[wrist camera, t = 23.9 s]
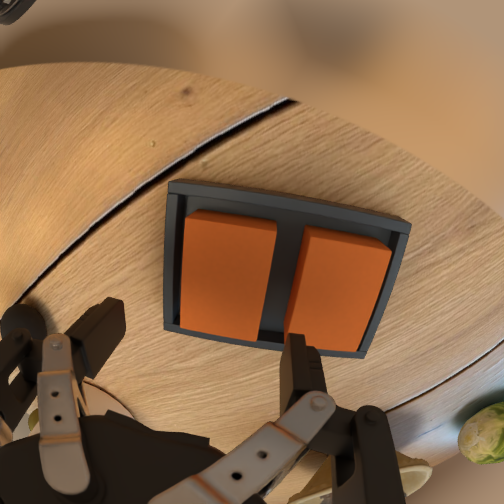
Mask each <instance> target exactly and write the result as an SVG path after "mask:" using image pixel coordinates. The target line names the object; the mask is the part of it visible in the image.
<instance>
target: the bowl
mask: <svg viewBox="0 0 504 504" xmlns="http://www.w3.org/2000/svg"><path fill="white" fill-rule="evenodd" d="M395 452H396V456H397V461H398V465H399V470H400V475H401V480H402V485H403V491H404V497H406V496H408V495H410V494H412V493H413V492H415V491H416V490H417V489H419V488H420V487H422V486H423V485H424V483H425V482H426V481H427V480H428V479H429V477H430V476H431V474H432V467H430V466H429V464H428V462H427V461H425V460H423V459H417V458H414V459H412V458H410V457H408V456H406V455H404V454H402V453H400V452H398V451H396V450H395ZM288 504H332V476H331V455H329V454H327V459H326V460H325V461H324V463H323V464H322V466H321V467H320V468H319V470H318V471H317V472H316V473H315V475H314V476H313V477H312V478H311V480H310V481H309V482H308V484H307V485H306V486H305V487H304V489H303V490H302V491H301V492H300V493H297V494H295V495H293V496H292V497H290V498H289V501H288Z"/></svg>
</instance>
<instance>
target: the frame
mask: <svg viewBox="0 0 504 504" xmlns="http://www.w3.org/2000/svg"><path fill="white" fill-rule="evenodd" d="M197 209H204V210H211V211H218V212H224V213H231V214H238V215H244V216H250V217H257V218H263V219H269V220H275V221H276V223H277V235H276V241H275V246H274V252H273V257H272V263H271V268H270V274H269V279H268V284H267V290H266V295H265V300H264V305H263V310H262V316H261V321H260V326H259V331H258V336H257V341H256V342H253V341H247V340H241V339H235V338H229V337H224V336H218V335H213V334H208V333H203V332H198V331H193V330H188V329H184V328H180V306H181V278H182V258H183V242H184V229H185V218H186V217H187V216H189V215H190V214H192V213H193V212H194V211H196V210H197ZM305 225H311V226H316V227H322V228H327V229H333V230H338V231H343V232H349V233H354V234H359V235H364V236H369V237H374V238H377V239H378V240H379V241H381V242H382V243H383V244H384V245H385V246H386V247H388V248H389V249H390V250H391V251H392V253H391V257H390V260H389V264H388V267H387V270H386V273H385V276H384V279H383V282H382V285H381V288H380V291H379V294H378V297H377V300H376V303H375V305H374V308H373V311H372V314H371V316H370V319H369V321H368V324H367V326H366V329H365V331H364V334H363V336H362V339H361V341H360V344H359V346H358V348H357V351H356V352H348V351H336V350H325V349H317V351H318V352H319V353H320V356H330V357H342V358H358V359H364V358H365V356H366V354H367V351H368V349H369V347H370V344H371V342H372V340H373V338H374V335H375V333H376V330H377V328H378V326H379V323H380V321H381V318H382V316H383V313H384V311H385V308H386V305H387V303H388V300H389V297H390V295H391V292H392V289H393V286H394V283H395V280H396V277H397V274H398V271H399V268H400V265H401V262H402V258H403V255H404V252H405V248H406V245H407V241H408V238H409V235H408V234H410V230H411V226H412V224H411V223H409V222H408V221H406V220H404V219H402V218H400V217H398V216H394V215H390V214H386V213H381V212H377V211H373V210H368V209H364V208H359V207H355V206H350V205H346V204H341V203H336V202H331V201H326V200H321V199H316V198H310V197H305V196H299V195H294V194H288V193H282V192H276V191H270V190H264V189H257V188H251V187H244V186H237V185H230V184H222V183H215V182H207V181H198V180H190V179H176V180H172V181H169V182H168V194H167V204H166V219H165V238H164V268H163V319H164V322H163V324H164V330H167V331H171V332H175V333H180V334H184V335H189V336H194V337H198V338H203V339H208V340H214V341H219V342H224V343H230V344H236V345H242V346H248V347H254V348H261V349H268V350H275V351H283V349H284V346H285V344H284V318H285V314H286V310H287V306H288V301H289V297H290V293H291V288H292V284H293V280H294V275H295V271H296V266H297V261H298V257H299V252H300V247H301V242H302V237H303V232H304V227H305Z"/></svg>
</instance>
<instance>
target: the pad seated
mask: <svg viewBox="0 0 504 504" xmlns="http://www.w3.org/2000/svg"><path fill="white" fill-rule="evenodd" d="M391 253H392V251H391V250H390V249H389V248H388V247H386V246H385V245H384V244H383V243H382V242H381V241H379V240H378V239H377V238H374V237H369V236H364V235H359V234H354V233H349V232H343V231H338V230H333V229H327V228H322V227H316V226H311V225H305V227H304V232H303V237H302V242H301V247H300V252H299V257H298V261H297V266H296V271H295V275H294V280H293V284H292V288H291V293H290V297H289V301H288V306H287V310H286V314H285V318H284V344H285V342H286V338H287V335H288V333H297V334H304V335H305V339H306V345H307V346H314V347H315V348H316V349H325V350H336V351H348V352H356V351H357V348H358V346H359V344H360V341H361V339H362V336H363V334H364V331H365V329H366V326H367V324H368V321H369V319H370V316H371V314H372V311H373V308H374V305H375V303H376V300H377V297H378V294H379V291H380V288H381V285H382V282H383V279H384V276H385V273H386V270H387V267H388V264H389V260H390V257H391Z"/></svg>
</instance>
